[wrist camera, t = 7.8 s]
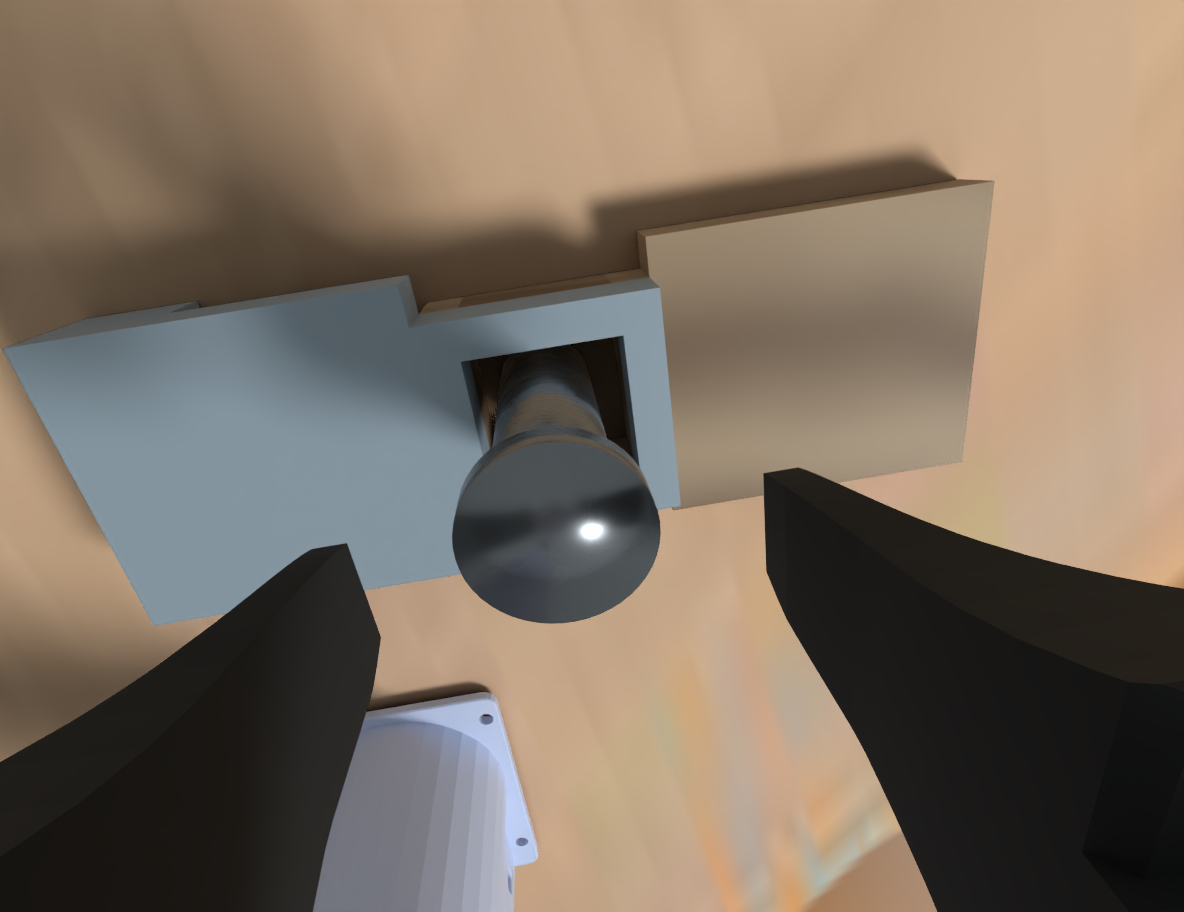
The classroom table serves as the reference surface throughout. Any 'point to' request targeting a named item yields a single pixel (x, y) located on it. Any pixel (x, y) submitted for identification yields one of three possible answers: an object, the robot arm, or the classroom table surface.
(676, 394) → the hinge leaf
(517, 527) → the hinge pin
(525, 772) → the classroom table surface
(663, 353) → the hinge leaf
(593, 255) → the classroom table surface
